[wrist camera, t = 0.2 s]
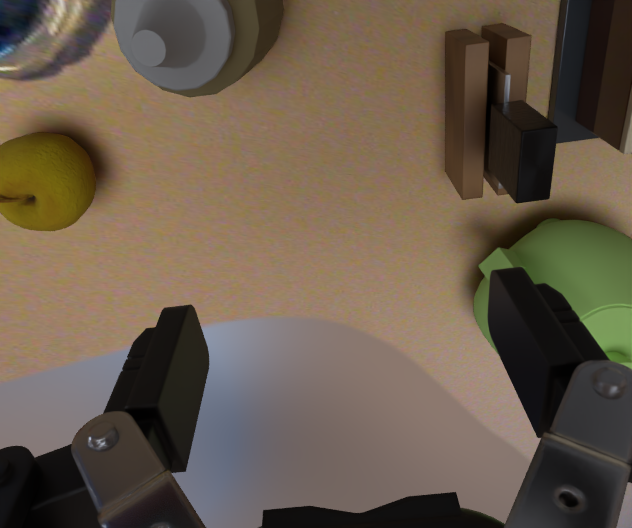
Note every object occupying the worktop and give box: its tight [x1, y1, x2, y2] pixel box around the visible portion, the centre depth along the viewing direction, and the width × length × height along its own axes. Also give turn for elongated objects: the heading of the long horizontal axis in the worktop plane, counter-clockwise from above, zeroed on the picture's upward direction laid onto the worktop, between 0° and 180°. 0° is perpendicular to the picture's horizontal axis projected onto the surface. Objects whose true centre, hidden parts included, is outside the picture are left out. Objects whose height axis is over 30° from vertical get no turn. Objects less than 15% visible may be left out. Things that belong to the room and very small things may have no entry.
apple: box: [0, 132, 96, 231], centre depth 35 cm, size 6×6×8 cm
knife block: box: [445, 23, 531, 200], centre depth 34 cm, size 10×4×5 cm, turn 8°
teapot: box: [473, 218, 632, 369], centre depth 39 cm, size 20×13×13 cm
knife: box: [484, 60, 558, 203], centre depth 31 cm, size 7×2×12 cm, turn 8°
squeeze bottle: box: [111, 0, 284, 97], centre depth 25 cm, size 8×8×18 cm
